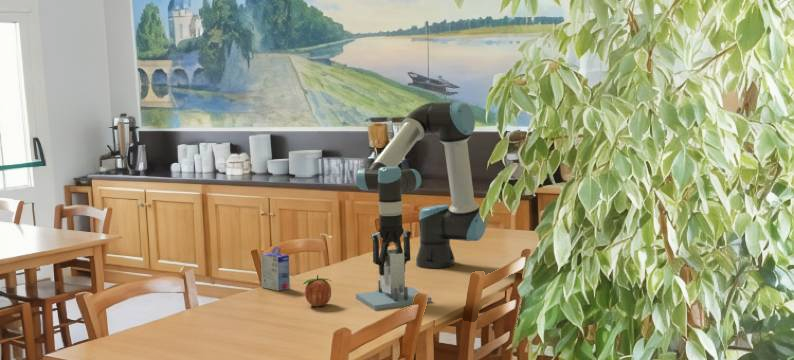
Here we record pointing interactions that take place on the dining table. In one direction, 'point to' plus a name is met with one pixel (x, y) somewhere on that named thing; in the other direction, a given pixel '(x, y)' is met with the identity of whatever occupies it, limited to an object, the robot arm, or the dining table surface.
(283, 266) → the ink cartridge box
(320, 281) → the fruit
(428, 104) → the robot arm
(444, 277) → the dining table surface
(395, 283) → the grey tall block
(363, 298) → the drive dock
